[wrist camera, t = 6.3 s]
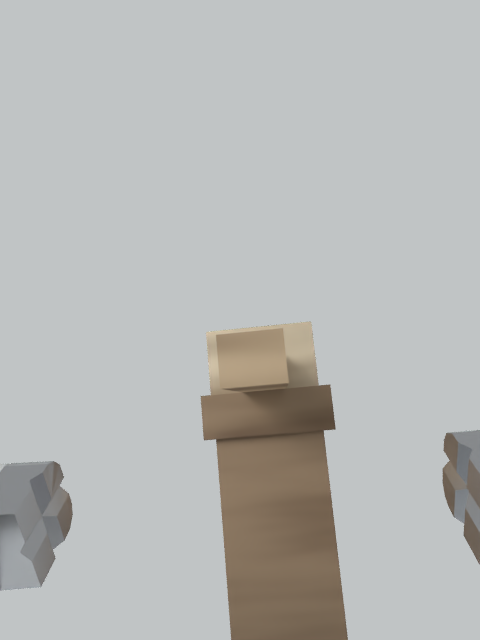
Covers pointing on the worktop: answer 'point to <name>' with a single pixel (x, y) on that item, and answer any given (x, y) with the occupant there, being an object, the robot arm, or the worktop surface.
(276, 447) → the walnut stand
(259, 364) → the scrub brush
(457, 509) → the robot arm
